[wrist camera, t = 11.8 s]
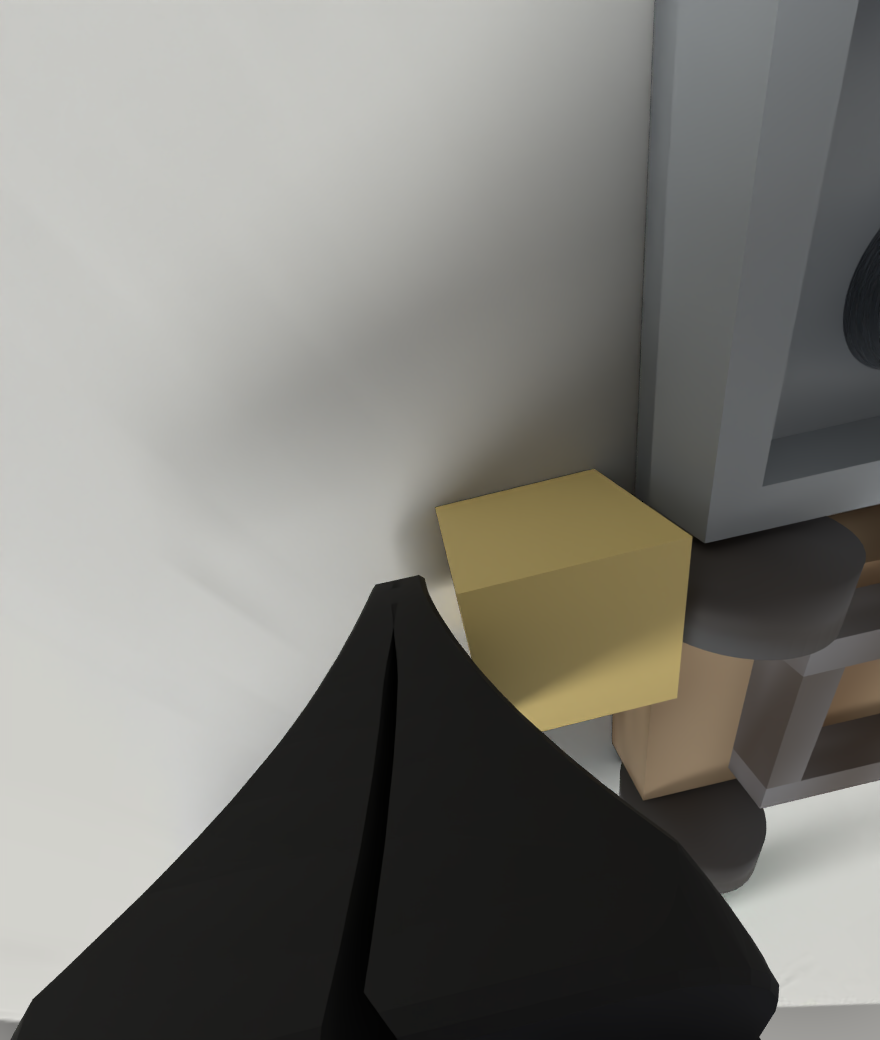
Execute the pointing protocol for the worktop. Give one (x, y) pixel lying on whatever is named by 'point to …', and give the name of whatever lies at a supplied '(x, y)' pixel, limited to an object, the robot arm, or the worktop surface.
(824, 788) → the trolley
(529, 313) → the worktop surface
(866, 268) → the pin
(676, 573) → the yellow cube
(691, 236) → the tray
